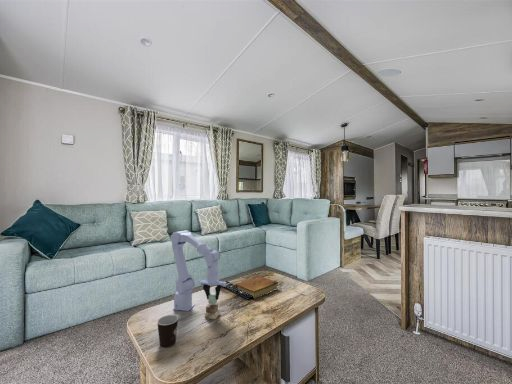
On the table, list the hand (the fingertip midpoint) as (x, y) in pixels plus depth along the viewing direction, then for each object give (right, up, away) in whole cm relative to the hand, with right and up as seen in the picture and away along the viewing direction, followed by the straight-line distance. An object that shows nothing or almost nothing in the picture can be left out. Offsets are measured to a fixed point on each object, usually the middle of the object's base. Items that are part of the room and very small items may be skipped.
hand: (212, 298), depth 127 cm
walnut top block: (0, -6, 0) cm, 6 cm away
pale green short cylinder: (0, -2, 0) cm, 2 cm away
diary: (+24, -10, +34) cm, 43 cm away
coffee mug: (-14, -9, -23) cm, 28 cm away
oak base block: (0, -9, 0) cm, 9 cm away
